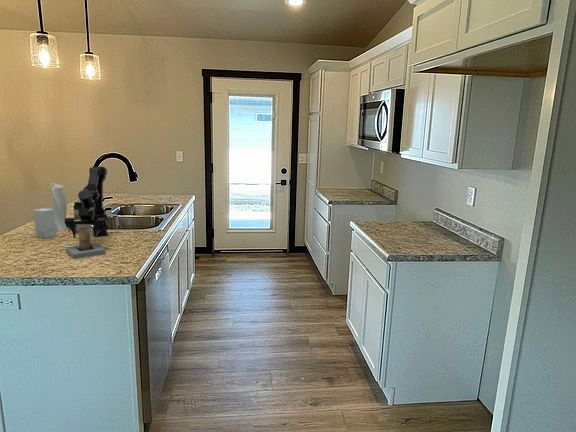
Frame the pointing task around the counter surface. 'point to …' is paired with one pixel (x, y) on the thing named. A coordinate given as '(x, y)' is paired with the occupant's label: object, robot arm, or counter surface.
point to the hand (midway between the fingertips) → (84, 237)
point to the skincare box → (45, 223)
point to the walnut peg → (84, 239)
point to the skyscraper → (59, 207)
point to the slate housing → (76, 252)
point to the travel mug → (76, 207)
